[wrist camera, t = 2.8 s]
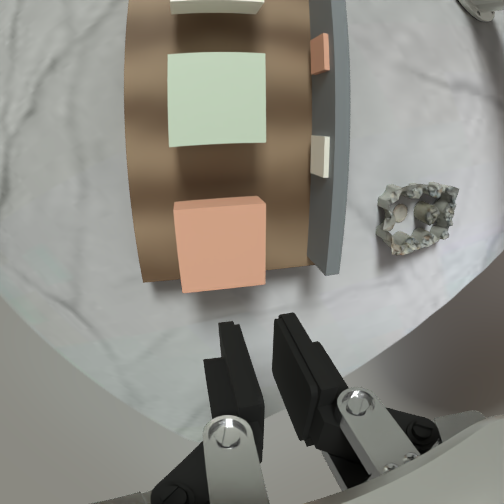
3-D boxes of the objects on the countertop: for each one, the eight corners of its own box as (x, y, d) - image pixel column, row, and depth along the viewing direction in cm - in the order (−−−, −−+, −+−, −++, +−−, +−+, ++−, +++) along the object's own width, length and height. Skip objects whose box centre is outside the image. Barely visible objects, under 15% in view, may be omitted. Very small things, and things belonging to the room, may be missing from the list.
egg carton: (370, 244, 32) (391, 259, 28) (376, 178, 29) (400, 186, 25) (433, 236, 34) (454, 248, 30) (441, 180, 31) (464, 188, 27)
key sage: (169, 62, 16) (167, 54, 14) (256, 61, 18) (265, 53, 16) (171, 145, 19) (169, 147, 17) (257, 141, 20) (266, 142, 18)
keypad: (138, -23, 16) (127, -61, 9) (310, -18, 19) (343, -48, 13) (146, 267, 27) (137, 308, 20) (309, 251, 30) (341, 284, 24)
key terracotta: (174, 201, 20) (173, 210, 18) (257, 195, 22) (266, 203, 19) (182, 277, 23) (182, 293, 21) (257, 270, 24) (265, 284, 22)
